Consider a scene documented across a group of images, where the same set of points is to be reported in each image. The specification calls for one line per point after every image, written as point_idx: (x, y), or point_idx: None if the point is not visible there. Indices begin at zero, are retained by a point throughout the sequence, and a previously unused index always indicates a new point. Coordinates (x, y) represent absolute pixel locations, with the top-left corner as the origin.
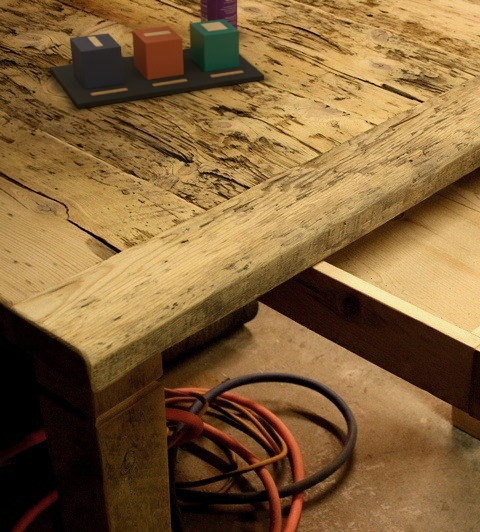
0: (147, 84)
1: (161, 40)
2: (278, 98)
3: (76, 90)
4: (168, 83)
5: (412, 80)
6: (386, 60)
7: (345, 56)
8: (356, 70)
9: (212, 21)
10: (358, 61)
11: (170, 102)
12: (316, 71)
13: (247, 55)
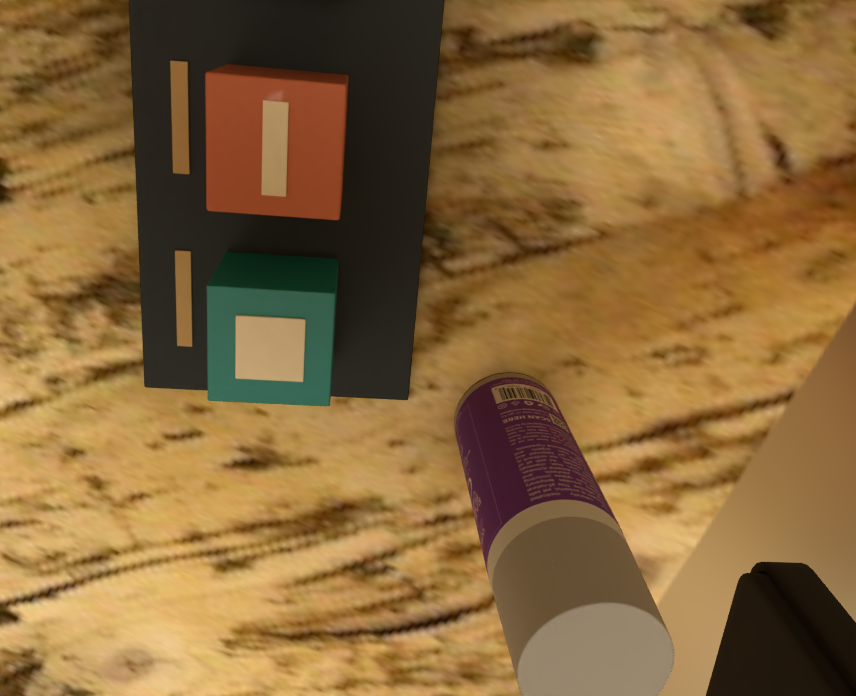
0: (193, 48)
1: (209, 136)
2: (13, 357)
3: None
4: (172, 110)
5: (21, 684)
6: (162, 692)
7: (224, 626)
8: (126, 606)
9: (321, 365)
10: (180, 636)
11: (81, 69)
12: (155, 522)
13: (331, 420)
